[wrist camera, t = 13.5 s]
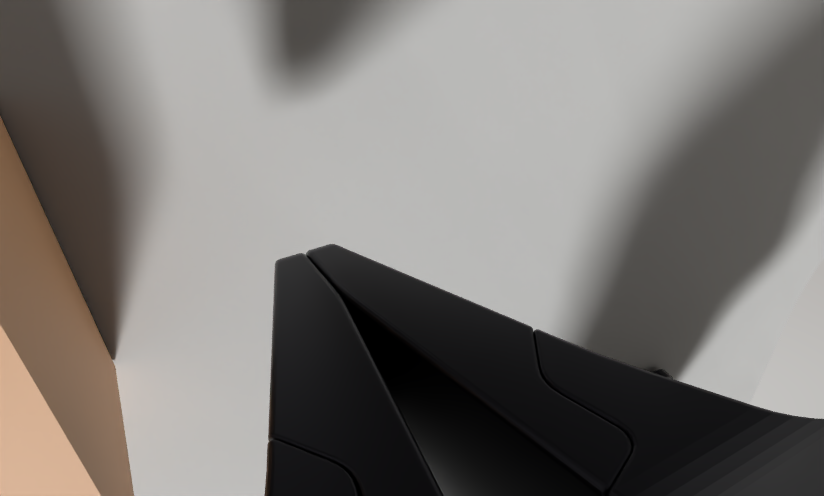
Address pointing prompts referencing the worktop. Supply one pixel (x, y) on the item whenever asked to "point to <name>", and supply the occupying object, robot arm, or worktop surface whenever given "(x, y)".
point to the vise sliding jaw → (51, 361)
